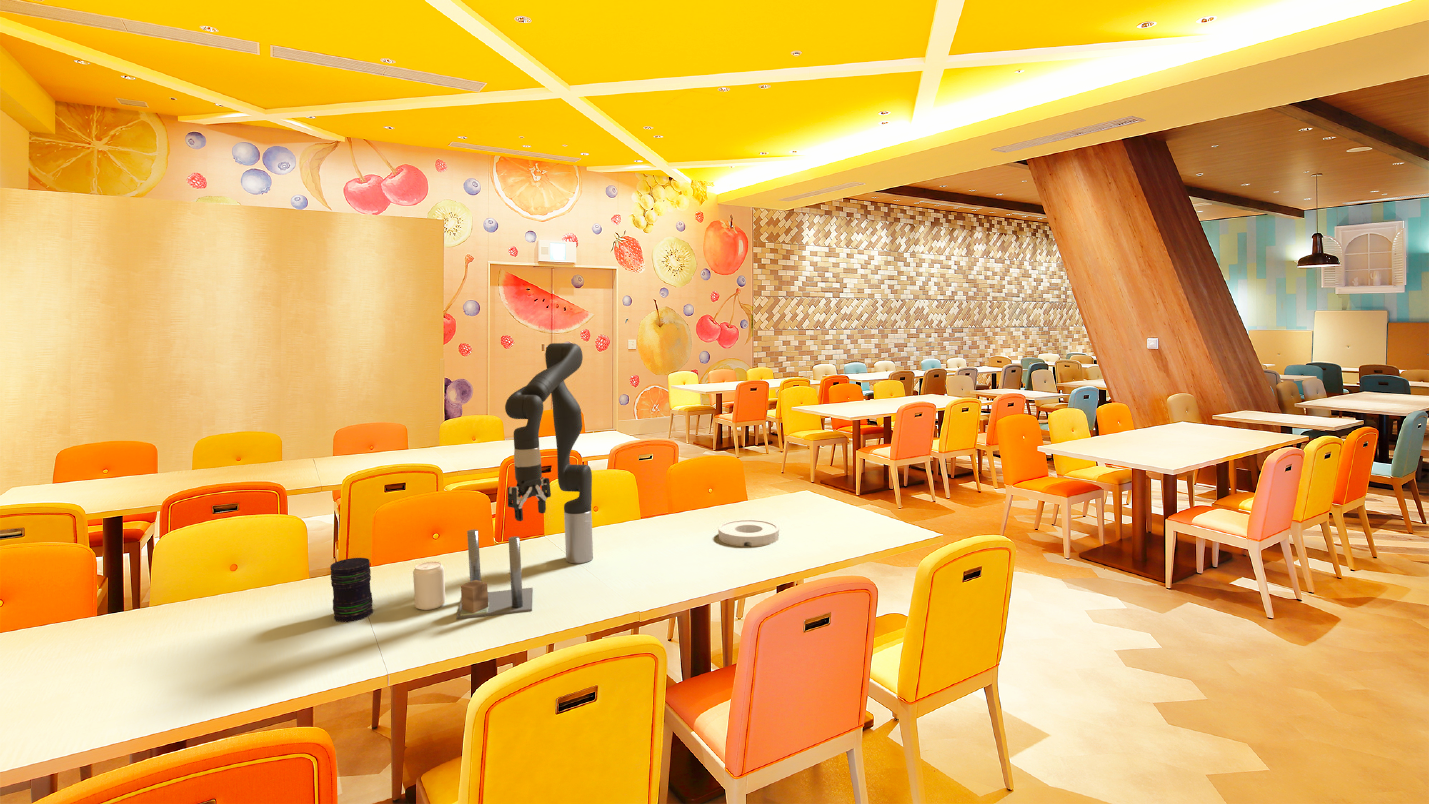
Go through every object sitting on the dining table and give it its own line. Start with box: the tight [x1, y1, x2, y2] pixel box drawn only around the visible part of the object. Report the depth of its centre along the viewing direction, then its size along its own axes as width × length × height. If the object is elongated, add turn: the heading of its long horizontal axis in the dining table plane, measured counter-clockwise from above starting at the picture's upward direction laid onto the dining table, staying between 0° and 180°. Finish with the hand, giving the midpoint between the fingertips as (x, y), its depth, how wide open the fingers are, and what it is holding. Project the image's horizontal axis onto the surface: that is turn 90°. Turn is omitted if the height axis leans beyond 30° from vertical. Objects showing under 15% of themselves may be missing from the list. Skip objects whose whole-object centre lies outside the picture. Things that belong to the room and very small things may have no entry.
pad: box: [461, 607, 488, 614], centre depth 191 cm, size 7×7×1 cm
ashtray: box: [717, 518, 780, 547], centre depth 258 cm, size 23×23×4 cm
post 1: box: [466, 529, 482, 582], centre depth 199 cm, size 3×3×20 cm
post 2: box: [508, 535, 523, 609], centre depth 192 cm, size 3×3×20 cm
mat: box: [456, 587, 534, 620], centre depth 197 cm, size 17×20×1 cm
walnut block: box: [460, 580, 489, 613], centre depth 191 cm, size 5×5×7 cm
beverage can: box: [412, 560, 446, 611], centre depth 195 cm, size 8×8×12 cm
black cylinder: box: [329, 557, 374, 623], centre depth 189 cm, size 10×10×15 cm
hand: (530, 516), depth 199 cm, fingers open, 8 cm apart
